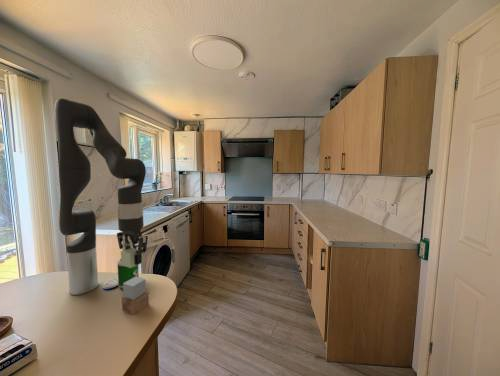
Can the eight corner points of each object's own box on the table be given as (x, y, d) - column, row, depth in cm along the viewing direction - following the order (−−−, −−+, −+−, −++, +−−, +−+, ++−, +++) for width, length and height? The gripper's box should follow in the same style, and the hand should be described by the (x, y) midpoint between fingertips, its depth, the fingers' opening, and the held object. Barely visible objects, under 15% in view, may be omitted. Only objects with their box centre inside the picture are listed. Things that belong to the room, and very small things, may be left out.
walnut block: (122, 310, 70) (121, 297, 70) (138, 300, 76) (137, 287, 75) (133, 315, 68) (132, 301, 67) (148, 304, 73) (148, 292, 73)
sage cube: (121, 265, 69) (120, 251, 68) (135, 259, 73) (134, 246, 73) (130, 268, 67) (129, 253, 66) (144, 262, 71) (143, 248, 71)
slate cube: (123, 296, 70) (122, 283, 69) (136, 288, 74) (135, 276, 74) (133, 300, 68) (132, 286, 68) (146, 292, 73) (145, 279, 72)
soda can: (129, 291, 81) (128, 263, 80) (114, 288, 83) (112, 261, 82) (142, 281, 88) (141, 255, 87) (128, 279, 90) (127, 253, 89)
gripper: (107, 215, 68) (109, 262, 70) (133, 220, 62) (136, 271, 64) (128, 211, 75) (130, 254, 76) (154, 215, 69) (156, 262, 70)
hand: (133, 262), depth 70 cm, fingers closed on sage cube, 5 cm apart
